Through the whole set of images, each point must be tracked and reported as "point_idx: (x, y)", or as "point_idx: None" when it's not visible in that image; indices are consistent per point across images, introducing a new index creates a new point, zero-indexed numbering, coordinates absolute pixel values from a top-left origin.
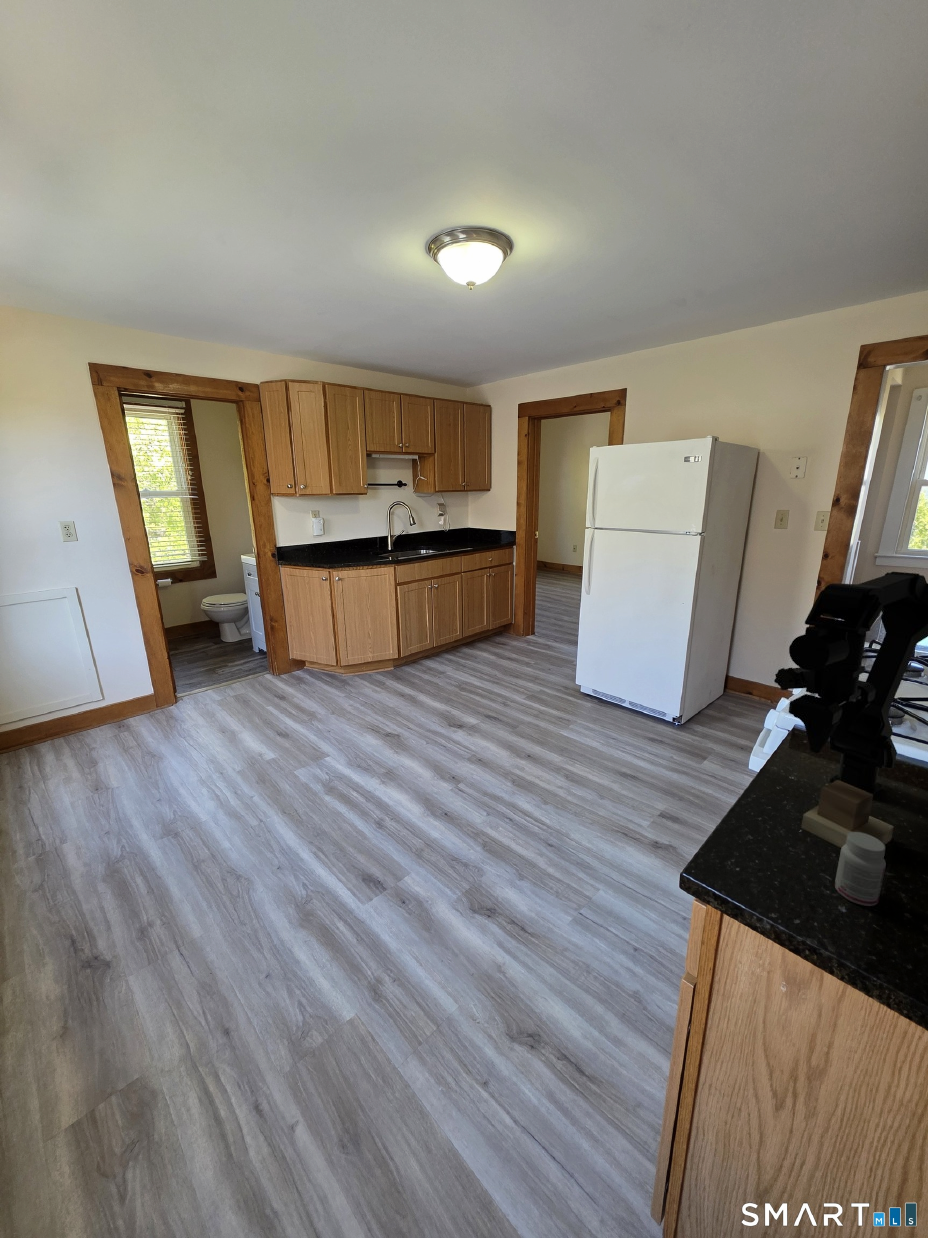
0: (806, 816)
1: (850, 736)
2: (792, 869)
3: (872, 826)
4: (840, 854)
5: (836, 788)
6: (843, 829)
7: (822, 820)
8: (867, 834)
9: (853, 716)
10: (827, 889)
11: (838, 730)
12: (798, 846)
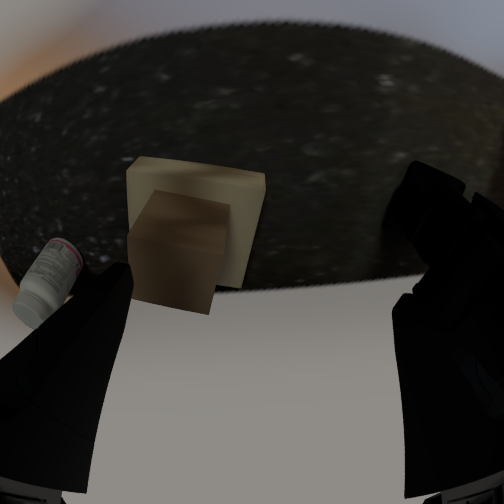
0: (127, 176)
1: (462, 294)
2: (33, 194)
3: None
4: (27, 273)
5: (161, 261)
6: None
7: (140, 204)
8: (41, 319)
9: (411, 437)
10: (43, 233)
11: (406, 335)
12: (80, 176)
